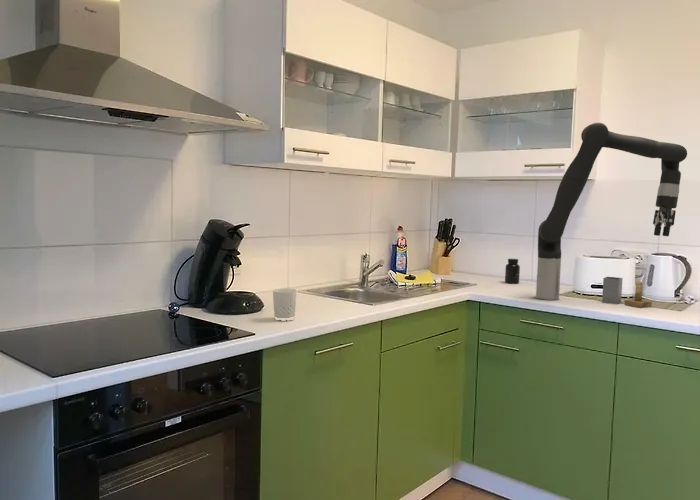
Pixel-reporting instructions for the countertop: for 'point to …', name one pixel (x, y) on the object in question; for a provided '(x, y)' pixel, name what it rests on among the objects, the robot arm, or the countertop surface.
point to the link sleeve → (612, 290)
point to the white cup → (284, 303)
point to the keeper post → (638, 298)
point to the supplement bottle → (512, 272)
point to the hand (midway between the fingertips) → (661, 235)
